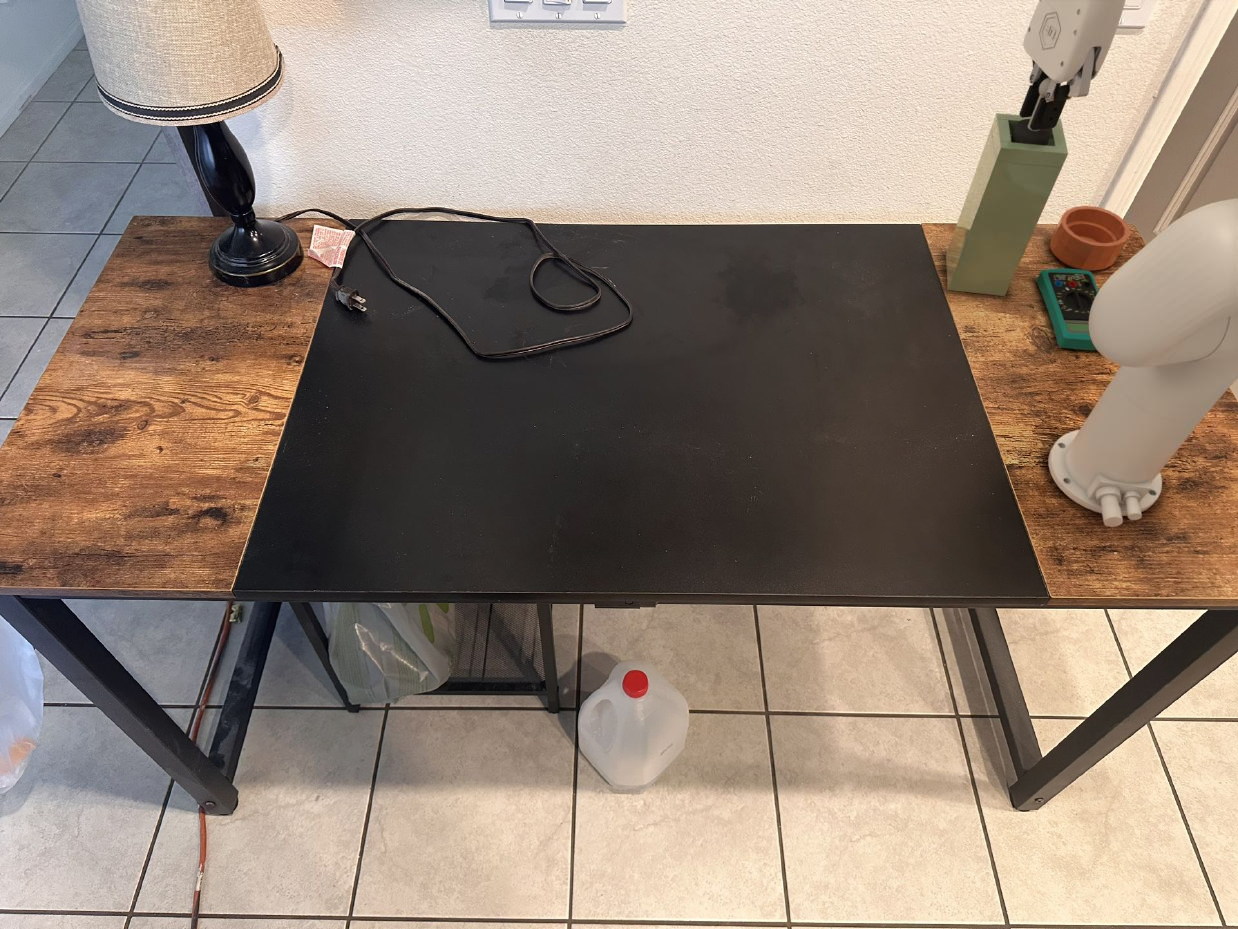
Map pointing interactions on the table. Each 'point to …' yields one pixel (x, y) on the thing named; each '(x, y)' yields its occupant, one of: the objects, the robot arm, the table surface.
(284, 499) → the table surface
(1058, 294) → the digital multimeter
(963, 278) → the green tall hollow block
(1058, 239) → the basin bowl
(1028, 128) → the stopper
